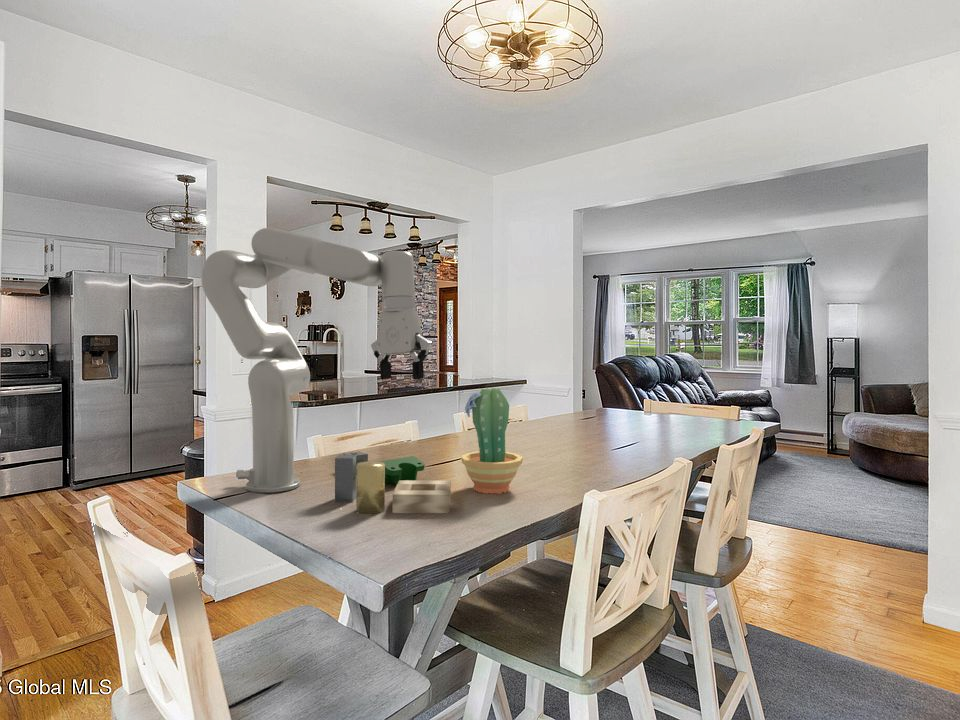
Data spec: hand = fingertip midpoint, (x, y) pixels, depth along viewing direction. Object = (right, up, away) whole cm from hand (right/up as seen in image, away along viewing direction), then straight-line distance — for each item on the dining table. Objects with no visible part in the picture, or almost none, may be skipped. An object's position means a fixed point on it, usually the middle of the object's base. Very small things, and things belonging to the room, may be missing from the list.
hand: (401, 378), depth 134 cm
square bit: (-13, -28, -2) cm, 30 cm away
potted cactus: (+21, -28, +9) cm, 36 cm away
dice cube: (-16, -27, +26) cm, 41 cm away
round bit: (-5, -28, -10) cm, 30 cm away
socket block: (+5, -28, -6) cm, 29 cm away
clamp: (-2, -27, +14) cm, 31 cm away
